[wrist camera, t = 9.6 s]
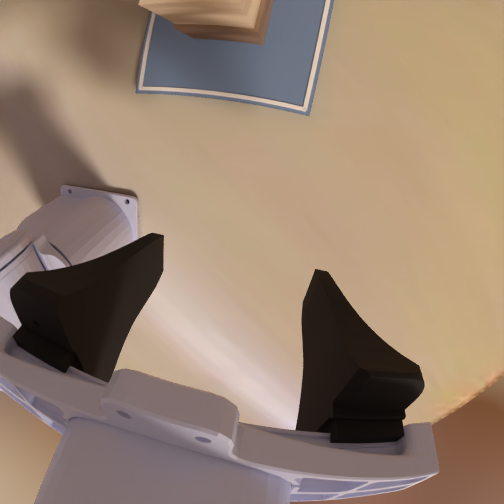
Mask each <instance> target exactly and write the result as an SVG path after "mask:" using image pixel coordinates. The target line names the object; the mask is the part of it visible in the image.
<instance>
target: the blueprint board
mask: <svg viewBox="0 0 504 504" xmlns="http://www.w3.org/2000/svg"><path fill="white" fill-rule="evenodd" d="M333 3H334V0H261V2H260V6H259V10H258V14H257V18H256V23H255V27H254V29H249V28H241V27H231V26H219V25H200V24H174V23H172V22H171V21H169V20H167V19H165V18H163V17H161V16H159V15H158V14H156V13H154V12H152V11H151V12H150V16H149V20H148V24H147V29H146V34H145V38H144V43H143V49H142V54H141V60H140V66H139V72H138V79H137V86H136V93H148V94H170V95H184V96H195V97H205V98H214V99H222V100H229V101H236V102H242V103H248V104H254V105H260V106H265V107H270V108H275V109H280V110H285V111H289V112H294V113H298V114H302V115H306V116H309V115H310V111H311V106H312V102H313V98H314V93H315V89H316V84H317V80H318V75H319V71H320V66H321V61H322V57H323V52H324V47H325V43H326V38H327V33H328V28H329V23H330V18H331V13H332V8H333Z"/></svg>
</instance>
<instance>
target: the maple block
mask: <svg viewBox="0 0 504 504" xmlns="http://www.w3.org/2000/svg"><path fill="white" fill-rule="evenodd" d="M260 2H261V0H140V1H139V5H140V6H142V7H144V8H146V9H148V10H150V11H152V12H154V13H156V14H158V15H159V16H161V17H163V18H165V19H167V20H169V21H171V22H172V23H174V24H200V25H219V26H231V27H241V28H249V29H254V27H255V23H256V18H257V14H258V10H259V6H260Z"/></svg>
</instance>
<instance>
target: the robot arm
mask: <svg viewBox="0 0 504 504" xmlns="http://www.w3.org/2000/svg"><path fill="white" fill-rule="evenodd" d="M70 190H71V191H72V192H71V191H70ZM60 195H61V196H59V197H57V198H56V199H54V200H52V201H51V202H49V203H48V204H46V205H44V206H43V207H41V208H40V209H38V210H37V211H35V212H34V213H32V214H31V215H29V216H28V217H26V218H25V219H24V220H23V221H22V222H21V223H20V225H19V226H18V228H17V230H15V231H13V232H11V233H9V234H8V235H6V236H4V237H3V238H1V239H0V391H3V392H5V393H6V394H7V395H9V396H10V397H11V398H12V399H14V400H15V401H16V402H18V403H19V404H20V405H21V406H23V407H24V408H25V409H27V410H28V411H29V412H31V413H32V414H33V415H35V416H36V417H37V418H39V419H40V420H42V421H43V422H44V423H46V424H47V425H49V426H50V427H52V428H53V429H55V430H56V431H58V432H59V433H61V434H62V435H63V436H62V438H61V441H60V443H59V445H58V447H57V449H56V452H55V454H54V456H53V458H52V461H51V463H50V465H49V467H48V470H47V473H46V475H45V477H44V479H43V482H42V484H41V487H40V489H39V492H38V495H37V498H36V500H35V503H34V504H290V501H319V500H334V499H344V498H353V497H361V496H368V495H375V494H381V493H387V492H393V491H398V490H403V489H405V488H408V487H410V486H412V485H414V484H417V483H419V482H421V481H423V480H425V479H427V478H429V477H431V476H433V475H435V474H437V473H438V472H439V467H438V459H437V453H436V448H435V443H434V437H433V432H432V428H431V423H430V422H425V423H413V424H408V425H405V426H403V423H402V420H403V419H405V417H406V415H405V409H406V408H407V407H408V406H409V405H410V404H411V403H413V402H414V401H415V400H416V399H417V398H418V397H419V396H420V394H421V393H422V391H423V389H424V380H423V376H422V373H421V370H420V367H419V365H417V364H416V363H414V362H412V361H411V360H409V359H408V358H406V357H404V356H403V355H401V354H400V353H399V352H397V351H396V350H395V349H393V348H392V347H391V346H390V345H388V344H387V343H386V342H385V341H384V340H382V339H381V338H380V337H379V336H378V335H377V334H376V333H375V332H374V331H373V330H372V329H371V328H370V327H369V326H368V325H367V324H366V323H365V322H364V321H363V320H362V318H361V317H360V316H359V315H358V314H357V312H356V311H355V310H354V309H353V307H352V306H351V305H350V303H349V302H348V301H347V299H346V298H345V296H344V295H343V293H342V292H341V290H340V289H339V287H338V286H337V284H336V283H335V281H334V280H333V278H332V277H331V275H330V274H329V273H328V272H327V271H322V270H318V269H315V272H314V274H313V277H312V280H311V282H310V285H309V288H308V290H307V293H306V296H305V298H304V301H303V307H302V340H303V379H302V389H301V398H300V405H299V412H298V419H297V425H296V430H287V429H279V428H271V427H265V426H258V425H252V424H246V423H241V422H238V421H239V411H238V408H237V407H236V405H234V404H233V403H232V402H230V401H229V400H227V399H226V398H224V397H221V396H219V395H216V394H213V393H210V392H207V391H203V390H199V389H195V388H191V387H187V386H184V385H180V384H177V383H173V382H170V381H167V380H163V379H160V378H157V377H154V376H151V375H148V374H145V373H142V372H139V371H135V370H130V369H121V370H118V371H114V368H115V366H116V363H117V360H118V357H119V354H120V352H121V349H122V347H123V344H124V342H125V340H126V337H127V335H128V333H129V331H130V329H131V326H132V325H133V323H134V321H135V319H136V317H137V316H138V314H139V313H140V311H141V309H142V308H143V306H144V305H145V303H146V302H147V300H148V298H149V297H150V295H151V294H152V292H153V291H154V289H155V287H156V285H157V283H158V281H159V279H160V277H161V275H162V272H163V249H164V235H160V234H156V233H150V234H148V235H146V236H143V237H141V238H139V232H138V199H137V198H136V197H135V196H130V195H125V194H119V193H113V192H107V191H101V190H95V189H89V188H83V187H76V186H70V185H63V186H61V187H60ZM127 199H128V200H129V203H128V202H127ZM113 371H114V373H113ZM112 374H113V375H112Z"/></svg>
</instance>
